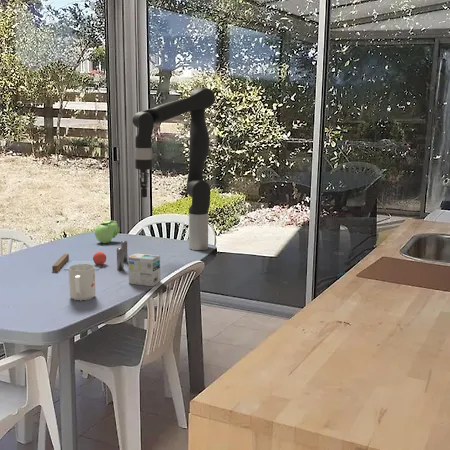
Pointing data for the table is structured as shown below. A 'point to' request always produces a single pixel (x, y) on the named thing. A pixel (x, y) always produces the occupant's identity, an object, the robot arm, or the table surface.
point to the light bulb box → (144, 269)
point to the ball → (99, 258)
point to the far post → (124, 251)
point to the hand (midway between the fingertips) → (144, 197)
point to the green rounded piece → (106, 231)
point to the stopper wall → (60, 263)
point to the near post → (120, 259)
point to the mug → (82, 281)
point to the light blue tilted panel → (83, 263)
